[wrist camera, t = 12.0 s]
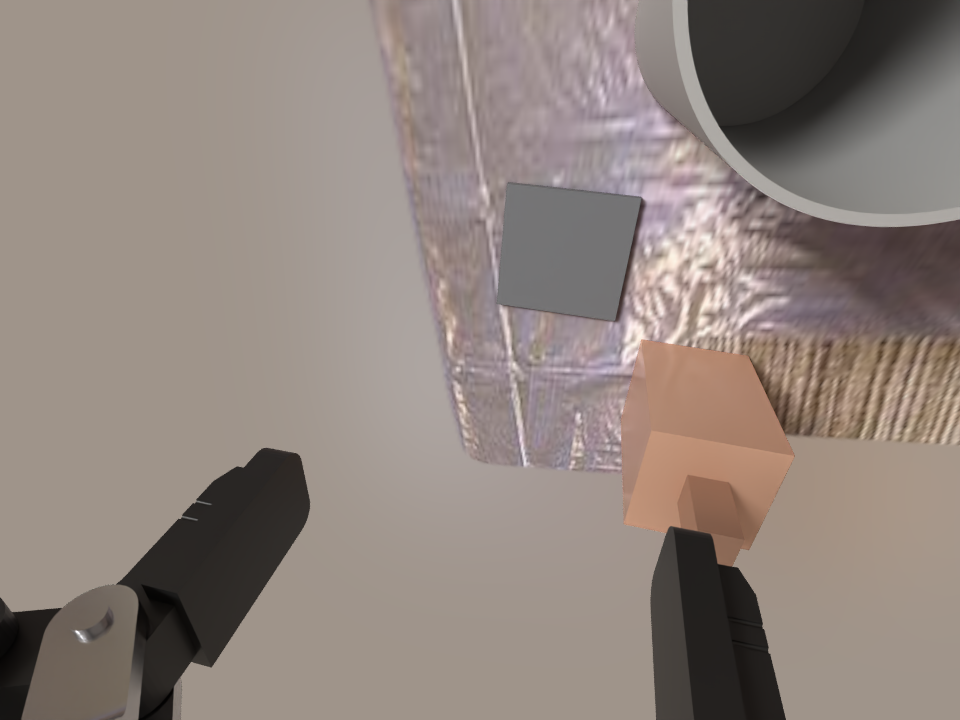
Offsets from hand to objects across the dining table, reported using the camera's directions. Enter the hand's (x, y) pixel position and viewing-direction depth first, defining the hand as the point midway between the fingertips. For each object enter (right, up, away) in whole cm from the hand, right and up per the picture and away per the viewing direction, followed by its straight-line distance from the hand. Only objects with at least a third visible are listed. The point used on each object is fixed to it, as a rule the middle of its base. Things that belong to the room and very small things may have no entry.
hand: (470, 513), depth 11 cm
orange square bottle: (+18, +1, +34) cm, 39 cm away
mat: (+7, +12, +31) cm, 34 cm away
